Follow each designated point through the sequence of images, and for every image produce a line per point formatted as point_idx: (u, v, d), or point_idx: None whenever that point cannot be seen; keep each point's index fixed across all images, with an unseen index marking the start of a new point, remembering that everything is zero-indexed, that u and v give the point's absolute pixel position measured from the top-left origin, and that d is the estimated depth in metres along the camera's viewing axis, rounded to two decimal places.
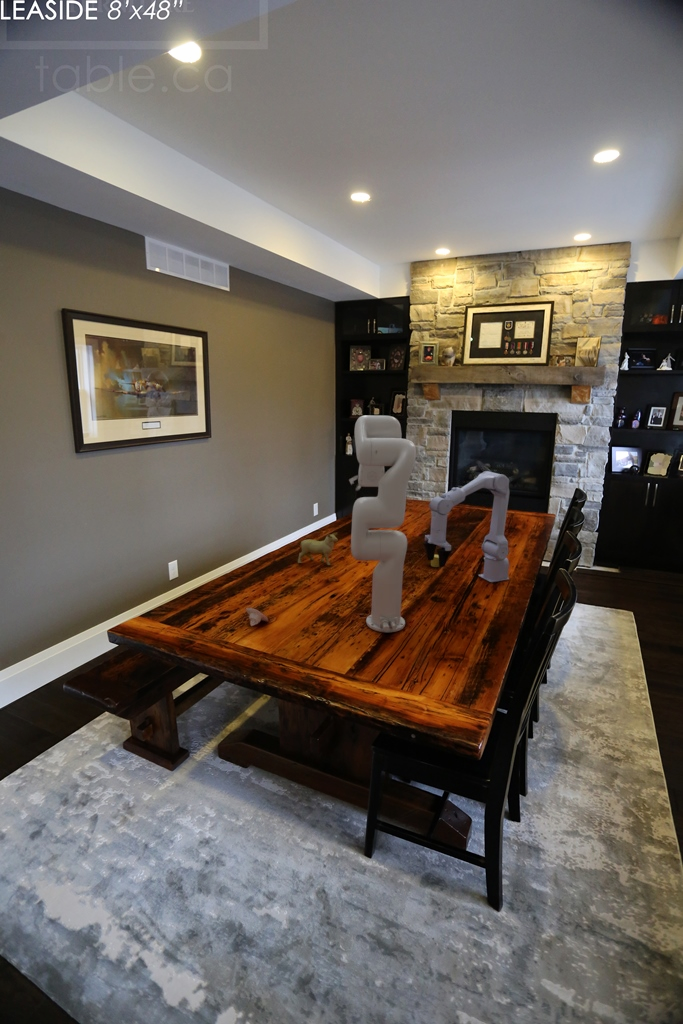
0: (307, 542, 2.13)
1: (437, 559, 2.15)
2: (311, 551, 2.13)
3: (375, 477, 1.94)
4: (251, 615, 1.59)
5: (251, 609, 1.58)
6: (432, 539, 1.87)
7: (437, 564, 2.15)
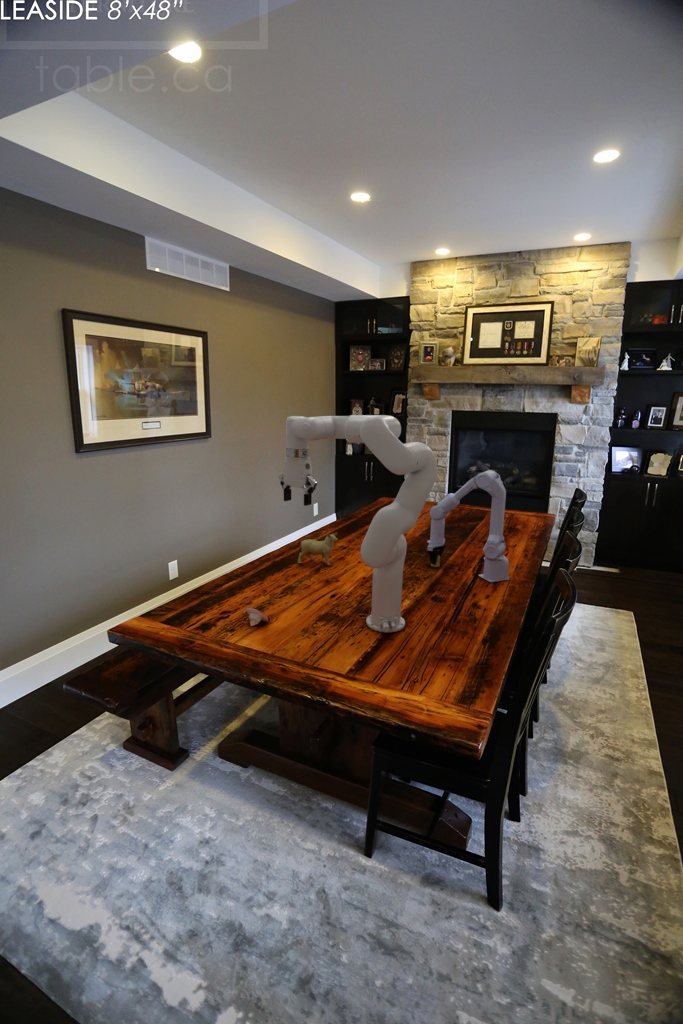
0: (307, 542, 2.13)
1: (437, 559, 2.15)
2: (311, 551, 2.13)
3: None
4: (251, 615, 1.59)
5: (251, 609, 1.58)
6: None
7: (437, 564, 2.15)
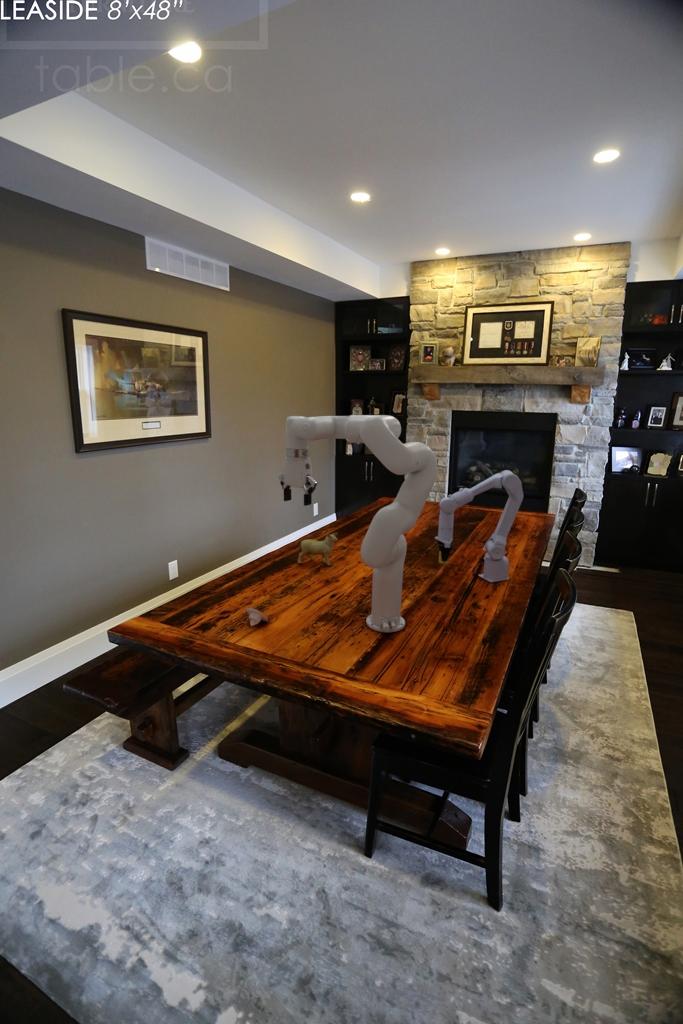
0: (307, 542, 2.13)
1: None
2: (311, 551, 2.13)
3: None
4: (251, 615, 1.59)
5: (251, 609, 1.58)
6: (438, 536, 2.02)
7: (447, 560, 2.03)
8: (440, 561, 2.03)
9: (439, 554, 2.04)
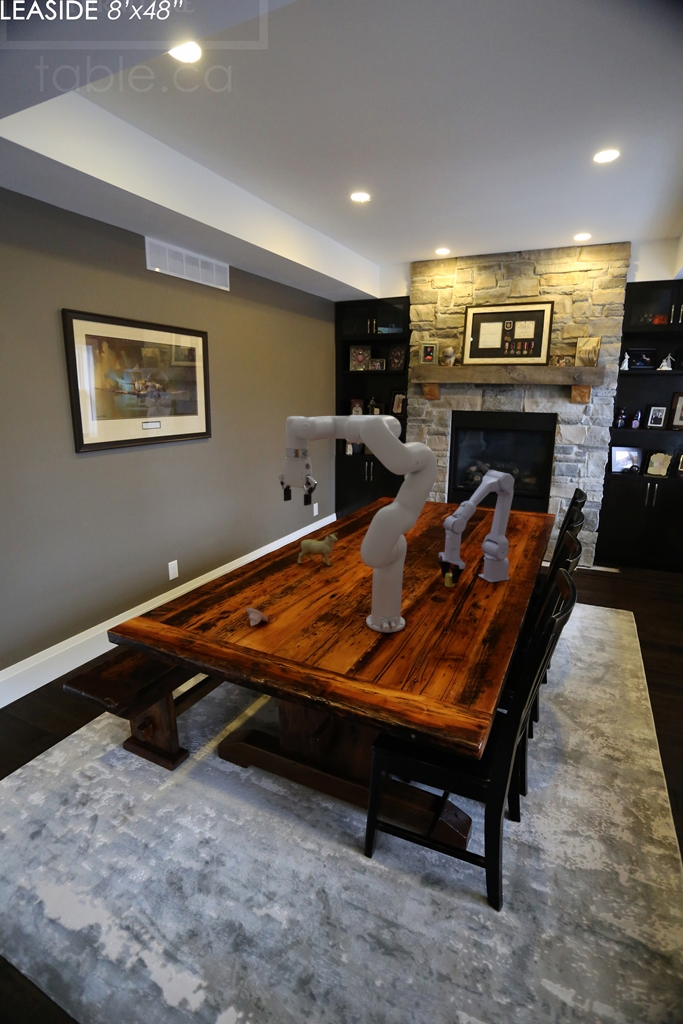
0: (307, 542, 2.13)
1: None
2: (311, 551, 2.13)
3: None
4: (251, 615, 1.59)
5: (251, 609, 1.58)
6: (446, 557, 1.91)
7: None
8: (448, 585, 1.94)
9: (447, 577, 1.94)
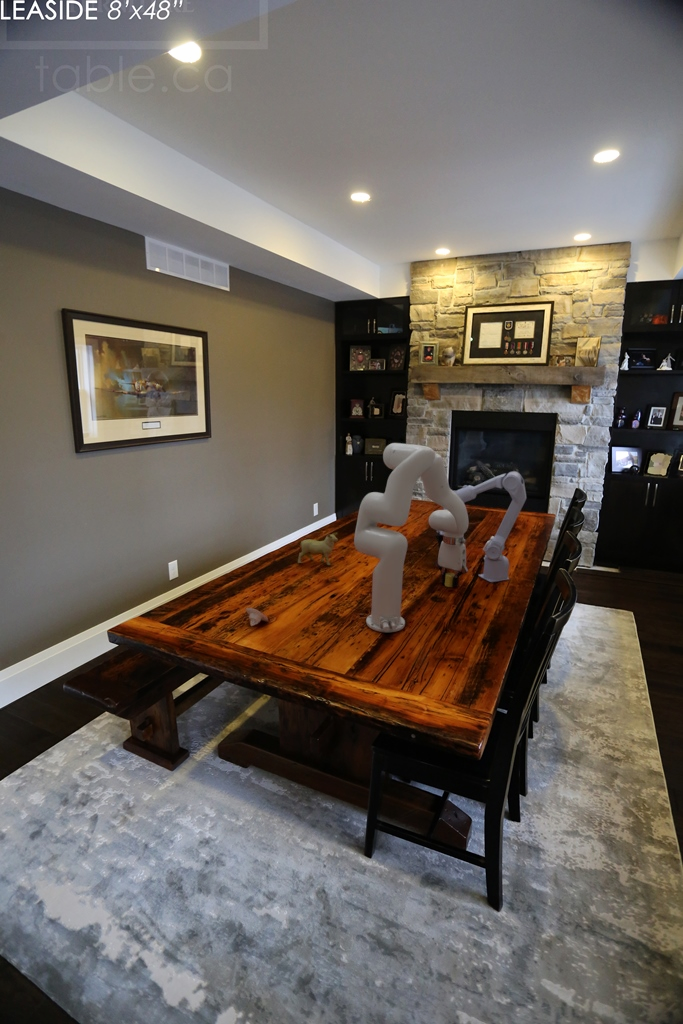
0: (307, 542, 2.13)
1: None
2: (311, 551, 2.13)
3: None
4: (251, 615, 1.59)
5: (251, 609, 1.58)
6: None
7: None
8: (448, 585, 1.94)
9: (447, 577, 1.94)
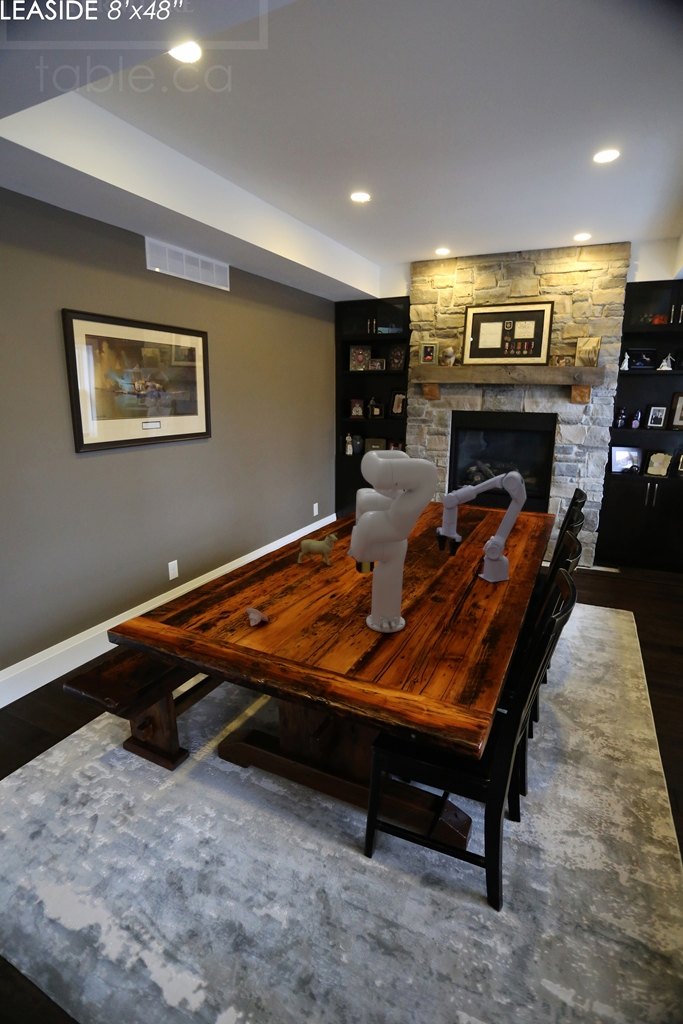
0: (307, 542, 2.13)
1: None
2: (311, 551, 2.13)
3: None
4: (251, 615, 1.59)
5: (251, 609, 1.58)
6: (444, 531, 2.06)
7: None
8: (367, 571, 1.82)
9: (365, 564, 1.81)
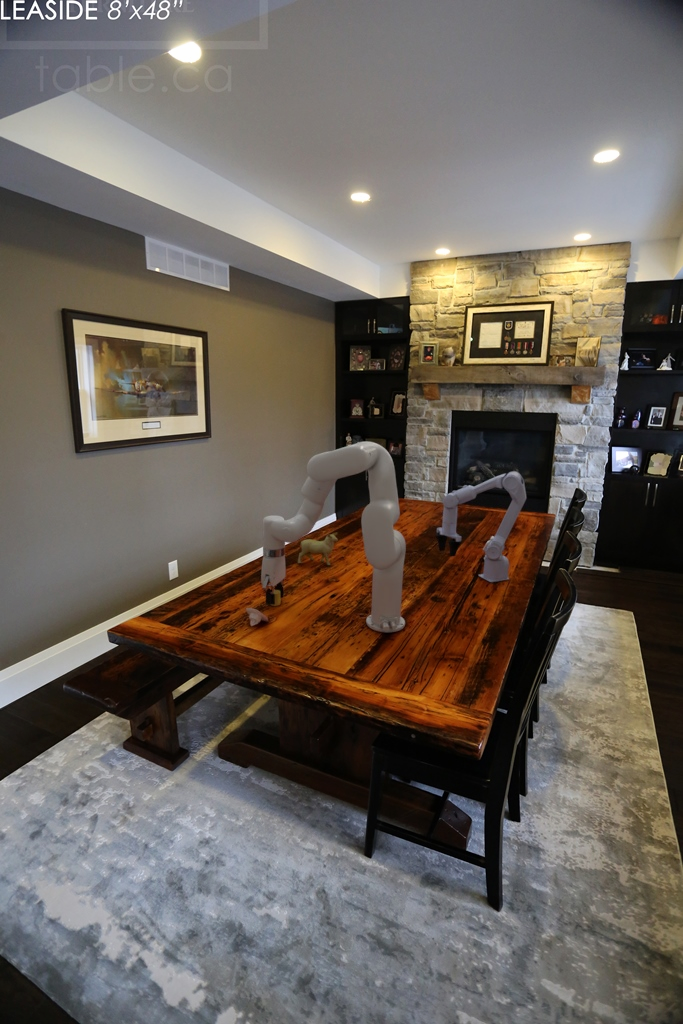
0: (307, 542, 2.13)
1: None
2: (311, 551, 2.13)
3: None
4: (251, 615, 1.59)
5: (251, 609, 1.58)
6: (444, 531, 2.06)
7: None
8: (280, 601, 1.76)
9: (279, 595, 1.75)
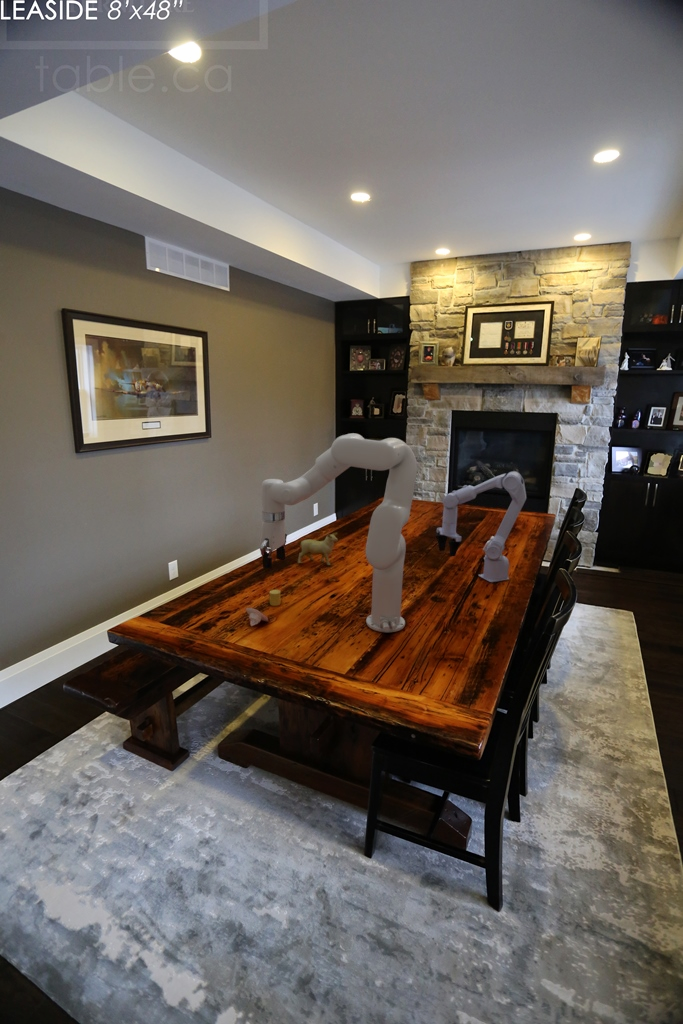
0: (307, 542, 2.13)
1: None
2: (311, 551, 2.13)
3: None
4: (251, 615, 1.59)
5: (251, 609, 1.58)
6: (444, 531, 2.06)
7: None
8: (280, 601, 1.76)
9: (279, 595, 1.75)
